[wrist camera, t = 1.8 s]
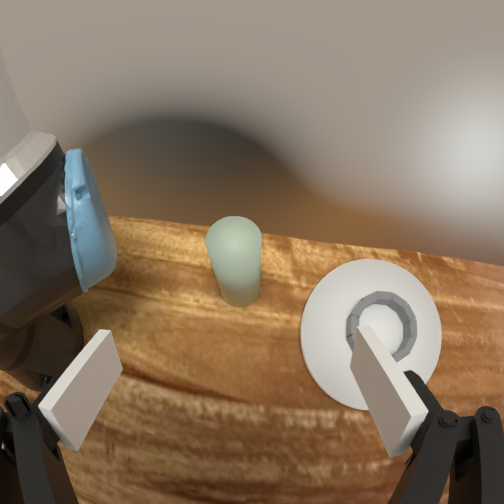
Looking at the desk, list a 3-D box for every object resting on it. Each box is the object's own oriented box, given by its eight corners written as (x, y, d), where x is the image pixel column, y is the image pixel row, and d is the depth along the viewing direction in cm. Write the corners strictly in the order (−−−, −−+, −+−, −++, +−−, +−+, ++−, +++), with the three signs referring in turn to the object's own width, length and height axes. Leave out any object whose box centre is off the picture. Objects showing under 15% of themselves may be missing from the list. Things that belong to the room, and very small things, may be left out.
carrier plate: (290, 407, 29) (293, 409, 26) (306, 254, 38) (309, 242, 35) (435, 405, 27) (448, 404, 24) (431, 270, 36) (441, 261, 34)
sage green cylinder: (217, 304, 35) (200, 259, 24) (224, 268, 37) (212, 213, 27) (256, 309, 34) (257, 267, 24) (262, 273, 37) (264, 219, 26)
